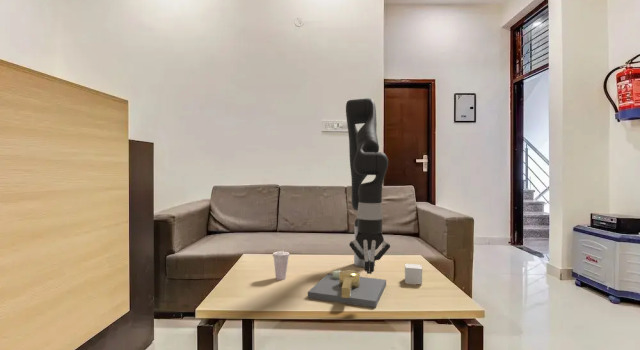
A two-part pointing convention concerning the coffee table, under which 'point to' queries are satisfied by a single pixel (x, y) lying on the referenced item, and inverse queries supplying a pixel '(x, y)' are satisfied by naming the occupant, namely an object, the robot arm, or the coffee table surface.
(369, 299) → the grey base plate
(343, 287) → the tan handled round piece
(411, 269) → the beige cube
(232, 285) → the coffee table surface
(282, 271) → the smoothie
